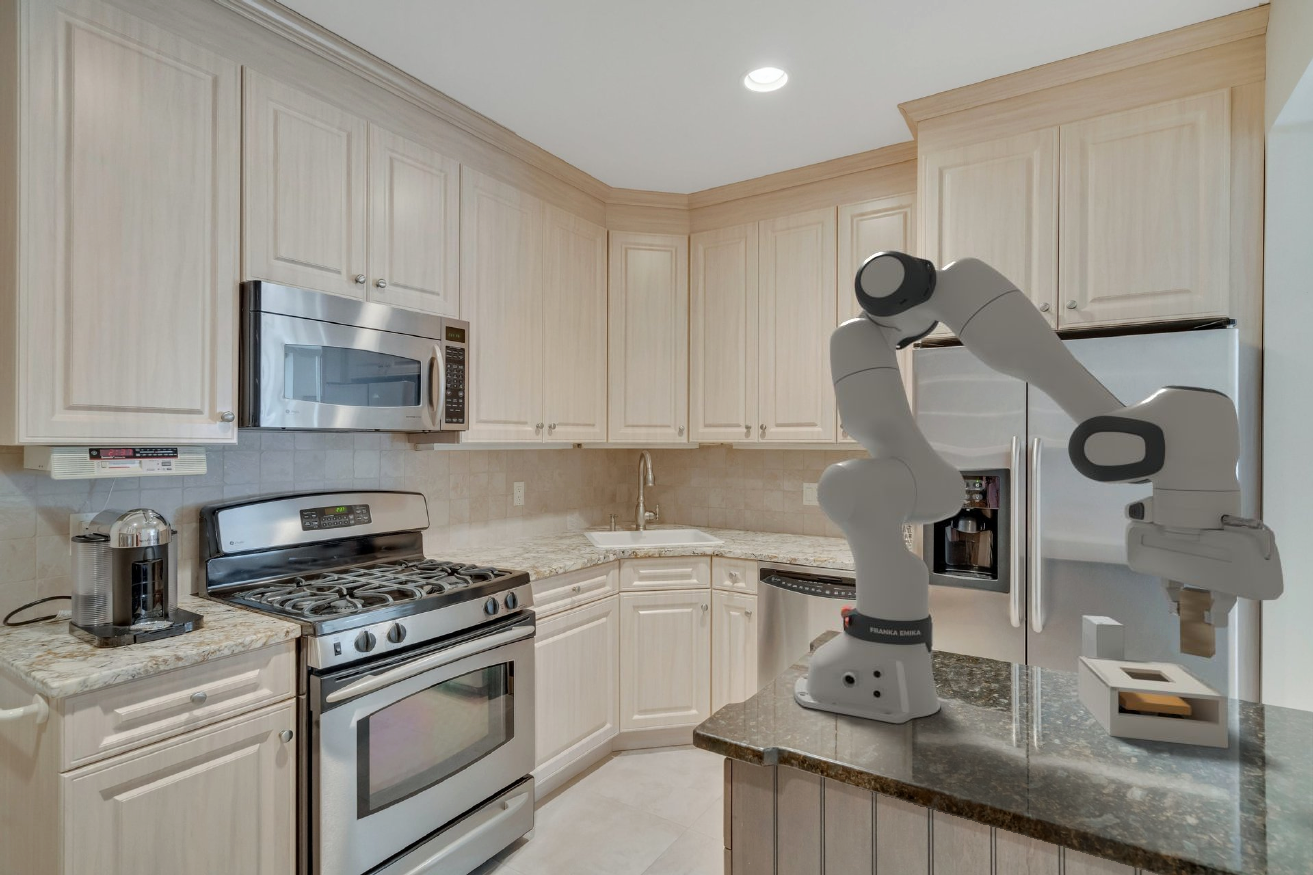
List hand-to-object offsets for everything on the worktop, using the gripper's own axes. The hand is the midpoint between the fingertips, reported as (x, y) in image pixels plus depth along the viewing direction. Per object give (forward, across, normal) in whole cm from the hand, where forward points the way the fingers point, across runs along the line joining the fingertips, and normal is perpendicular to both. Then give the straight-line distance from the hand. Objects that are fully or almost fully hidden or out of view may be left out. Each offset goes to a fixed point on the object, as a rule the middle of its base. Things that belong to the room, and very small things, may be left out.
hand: (1197, 620), depth 87 cm
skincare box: (+19, +26, -6) cm, 33 cm away
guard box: (+19, +14, -4) cm, 24 cm away
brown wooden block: (+4, 0, 0) cm, 4 cm away
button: (+17, +15, -5) cm, 23 cm away
